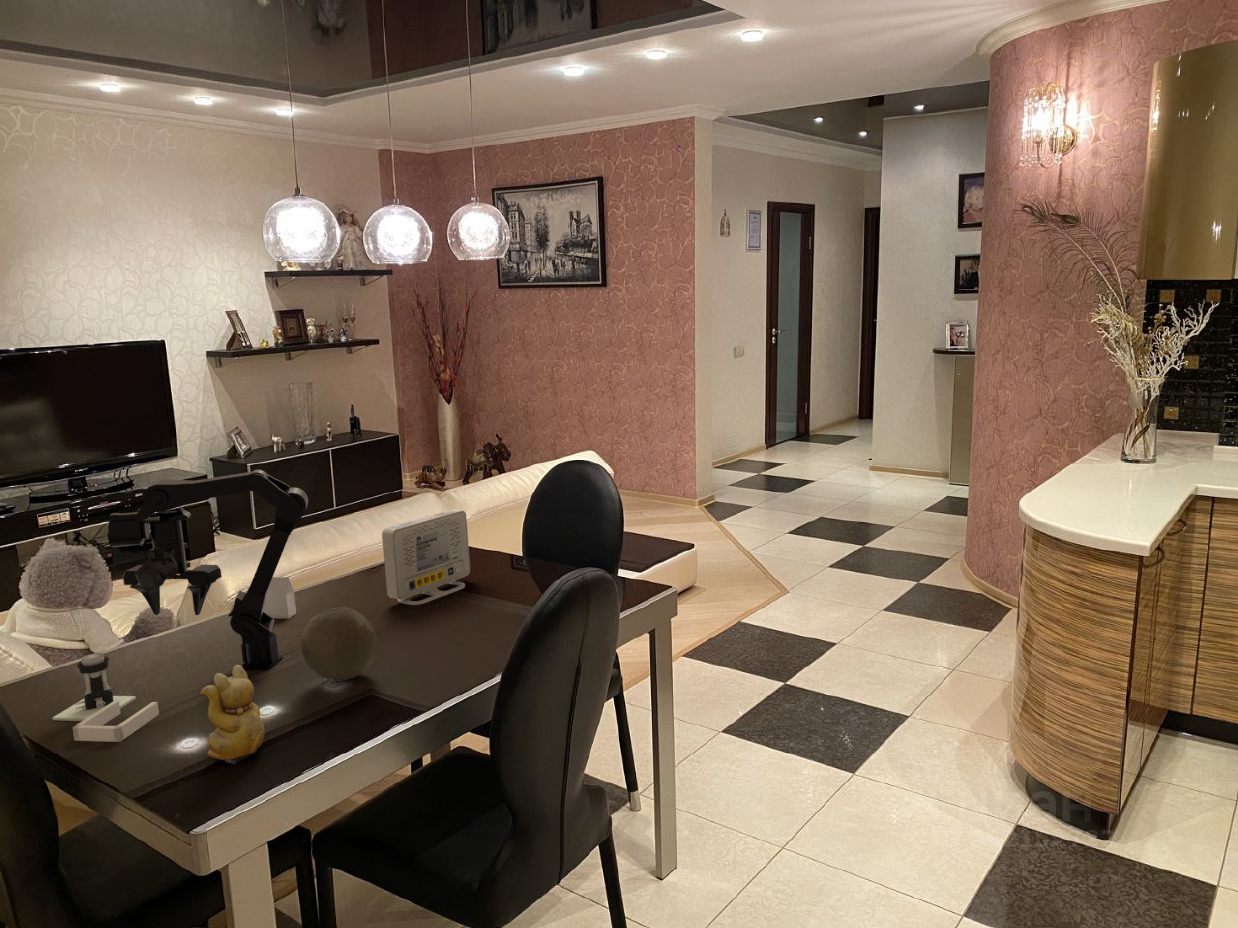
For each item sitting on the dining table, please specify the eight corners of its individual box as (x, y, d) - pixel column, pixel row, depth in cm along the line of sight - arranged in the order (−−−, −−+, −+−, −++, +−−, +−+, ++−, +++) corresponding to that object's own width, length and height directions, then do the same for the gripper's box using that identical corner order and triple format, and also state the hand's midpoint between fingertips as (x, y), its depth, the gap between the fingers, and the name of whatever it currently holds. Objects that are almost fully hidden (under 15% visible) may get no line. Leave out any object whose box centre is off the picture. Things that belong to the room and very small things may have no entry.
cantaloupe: (320, 667, 193) (313, 599, 191) (387, 665, 193) (380, 597, 190) (295, 696, 179) (287, 622, 177) (366, 694, 179) (359, 620, 176)
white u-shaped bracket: (159, 714, 174) (157, 701, 173) (120, 741, 163) (118, 728, 163) (115, 713, 175) (114, 700, 175) (74, 740, 164) (72, 727, 164)
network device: (455, 578, 253) (450, 507, 250) (478, 582, 248) (473, 510, 245) (382, 604, 233) (375, 528, 230) (405, 610, 228) (398, 532, 225)
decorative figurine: (240, 738, 162) (230, 658, 160) (280, 743, 160) (271, 661, 157) (201, 765, 153) (190, 680, 151) (243, 770, 151) (232, 684, 148)
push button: (77, 716, 173) (69, 665, 172) (74, 706, 178) (67, 657, 176) (116, 706, 177) (109, 657, 175) (113, 697, 181) (106, 649, 180)
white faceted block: (288, 618, 226) (284, 579, 224) (263, 618, 227) (258, 579, 225) (296, 613, 229) (292, 574, 228) (271, 613, 230) (266, 574, 229)
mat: (135, 698, 182) (135, 696, 181) (100, 721, 172) (100, 718, 172) (90, 697, 183) (89, 695, 183) (52, 720, 173) (52, 717, 173)
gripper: (99, 552, 182) (110, 627, 185) (186, 552, 179) (195, 628, 182) (136, 538, 193) (146, 609, 195) (218, 537, 190) (227, 609, 193)
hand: (177, 614), depth 191 cm, fingers open, 9 cm apart
